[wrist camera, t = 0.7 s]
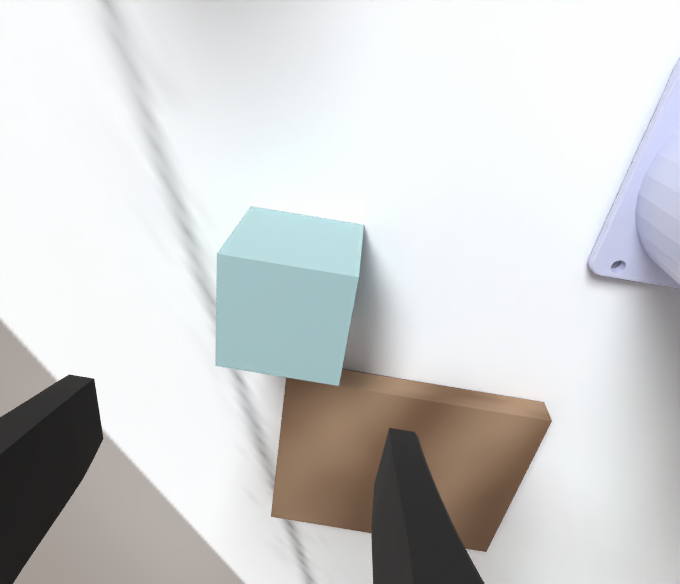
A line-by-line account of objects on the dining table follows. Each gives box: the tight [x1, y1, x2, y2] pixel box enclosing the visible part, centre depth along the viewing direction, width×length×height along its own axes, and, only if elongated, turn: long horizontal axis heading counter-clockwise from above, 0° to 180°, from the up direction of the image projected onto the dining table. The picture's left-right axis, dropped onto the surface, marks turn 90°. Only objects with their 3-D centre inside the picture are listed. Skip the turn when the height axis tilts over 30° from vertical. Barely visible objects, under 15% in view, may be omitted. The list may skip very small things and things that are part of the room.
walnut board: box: [271, 369, 552, 552], centre depth 24 cm, size 12×10×1 cm
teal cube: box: [216, 206, 364, 386], centre depth 18 cm, size 4×4×4 cm
